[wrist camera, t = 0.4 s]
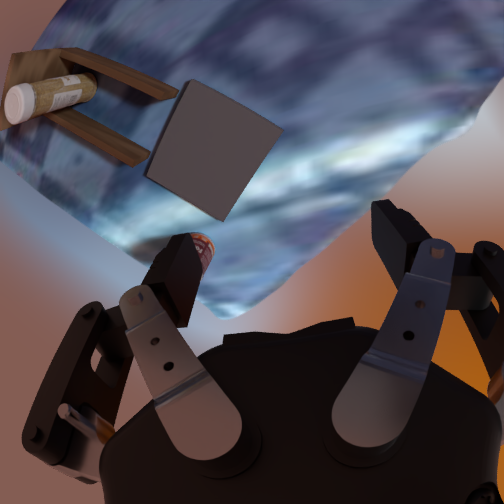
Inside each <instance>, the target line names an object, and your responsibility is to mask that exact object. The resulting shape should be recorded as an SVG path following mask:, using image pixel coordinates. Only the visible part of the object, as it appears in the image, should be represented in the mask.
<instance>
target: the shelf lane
mask: <svg viewBox="0 0 504 504" xmlns="http://www.w3.org/2000/svg"><path fill="white" fill-rule="evenodd" d="M75 63H78V64H80V65H83V66H85V67H88V68H90V69H93V70H95V71H98V72H100V73H102V74H105V75H107V76H109V77H112V78H114V79H116V80H119V81H121V82H123V83H125V84H127V85H130V86H132V87H134V88H136V89H138V90H140V91H142V92H144V93H146V94H149V95H151V96H153V97H155V98H157V99H159V100H164V99H170V98H175V97H176V96H177V94H178V92H179V90H178V89H176V88H174V87H172V86H170V85H168V84H166V83H163V82H161V81H159V80H157V79H155V78H153V77H150V76H148V75H146V74H144V73H141V72H139V71H137V70H134V69H132V68H130V67H127V66H125V65H123V64H120V63H118V62H115V61H113V60H110V59H107V58H105V57H102V56H99V55H97V54H94V53H91V52H88V51H86V50H83V49H80V48H77V47H75V48H56V49H44V50H35V51H27V52H20V53H13V54H12V56H11V60H10V63H9V67H8V71H7V76H6V80H5V84H4V90H3V95H2V100H1V106H0V131H2V130H4V129H7V128H9V127H12V126H14V124H11V123H10V122H9V121H8V120H7V118H6V115H5V109H4V104H5V98H6V95H7V93H8V91H9V90H10V89H11V88H12V87H13V86H16V85H19V84H23V83H29V84H30V83H34V82H39V81H44V80H47V79H51V78H57V77H62V76H68V75H71V74H72V71H73V69H74V66H75ZM42 115H44V116H45V117H47V118H49V119H50V120H52V121H54V122H56V123H57V124H59V125H61V126H63V127H64V128H66V129H68V130H69V131H71V132H73V133H75V134H76V135H78V136H80V137H81V138H83V139H85V140H87V141H88V142H90V143H92V144H93V145H95V146H97V147H98V148H100V149H102V150H104V151H105V152H107V153H109V154H110V155H112V156H114V157H115V158H117V159H119V160H120V161H122V162H124V163H126V164H127V165H129V166H131V167H132V168H133V167H134V166H136V165H138V164H139V163H141V162H143V161H144V160H146V159H148V158H149V155H150V153H151V152H150V151H149V150H147V149H145V148H143V147H142V146H140V145H138V144H136V143H135V142H133V141H131V140H129V139H127V138H126V137H124V136H122V135H120V134H118V133H117V132H115V131H113V130H111V129H109V128H108V127H106V126H104V125H102V124H100V123H98V122H97V121H95V120H93V119H91V118H89V117H87V116H85V115H83V114H82V113H80V112H78V111H76V110H74V109H72V108H70V107H68V106H67V107H64V108H60V109H57V110H54V111H51V112H47V113H44V114H40V115H37V116H34V117H31V118H30V119H33V118H36V117H39V116H42ZM30 119H28V120H30ZM24 122H25V121H24ZM21 123H22V122H21ZM18 124H19V123H18ZM15 125H17V124H15Z"/></svg>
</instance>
